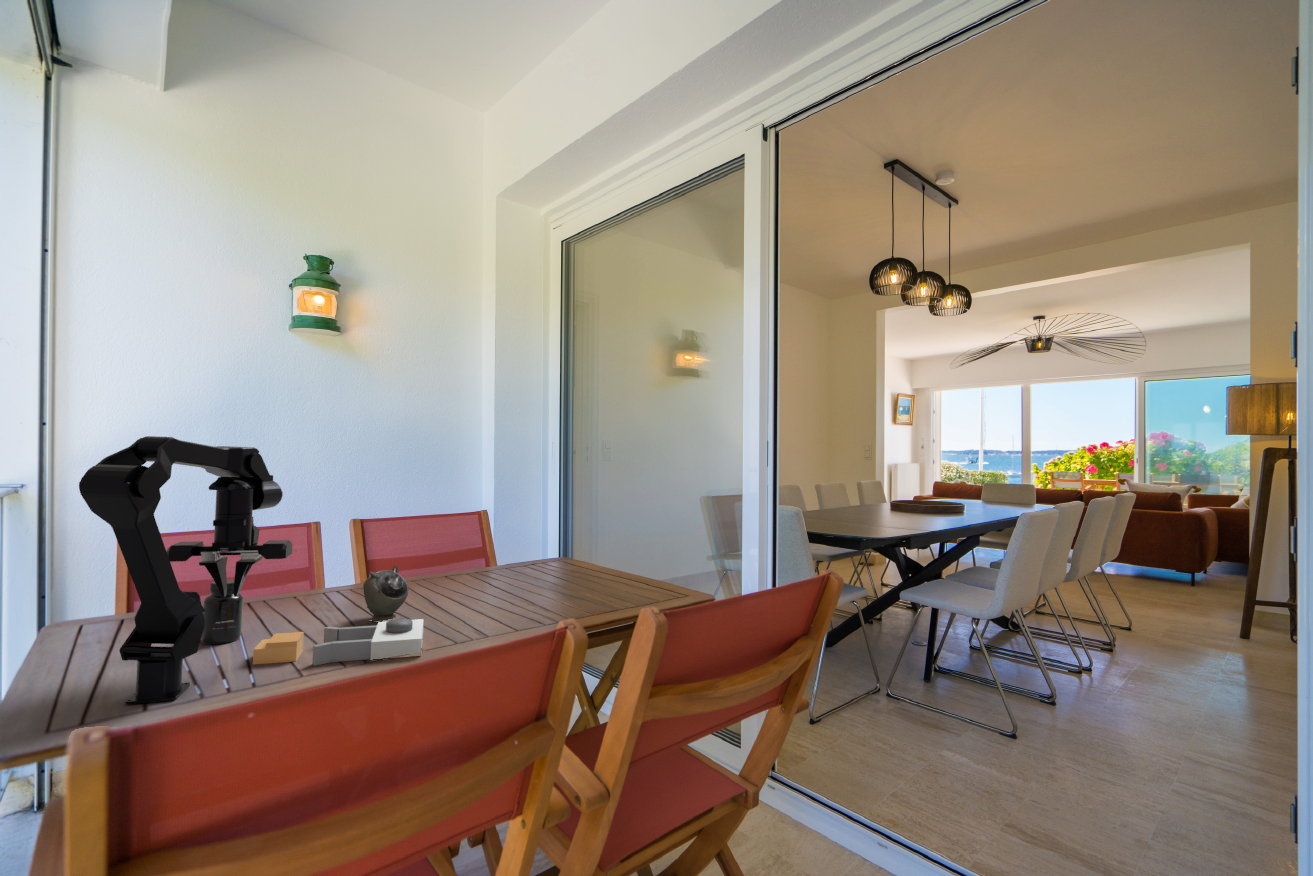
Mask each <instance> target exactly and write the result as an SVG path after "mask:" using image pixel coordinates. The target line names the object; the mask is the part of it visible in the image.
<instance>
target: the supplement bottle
mask: <svg viewBox="0 0 1313 876" xmlns="http://www.w3.org/2000/svg"><path fill="white" fill-rule="evenodd" d="M209 593H210V594H209V595H207V596H206V597H205V598H204V599H203V601H202V606H203V608H204V609H205V610H206V611H205V612H203V614H204V619H205V627H204V630H203V634H202V637H201V641H200V643H202V644H205V645H222V644H229V643H233V642H235V641H238V640H239V639H240V638H241V635H242V629H243V627H242V626H243V613H244V612H243V610H244V596H243V594H242V593H240V592H239V594H238V596H237V597H234V579H227V593H226V596H225V597H222V596H221V594H220V592H219V590H218V588H217V586H216V584H215V581H214V580H213V581H212V582H210V586H209Z"/></svg>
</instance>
